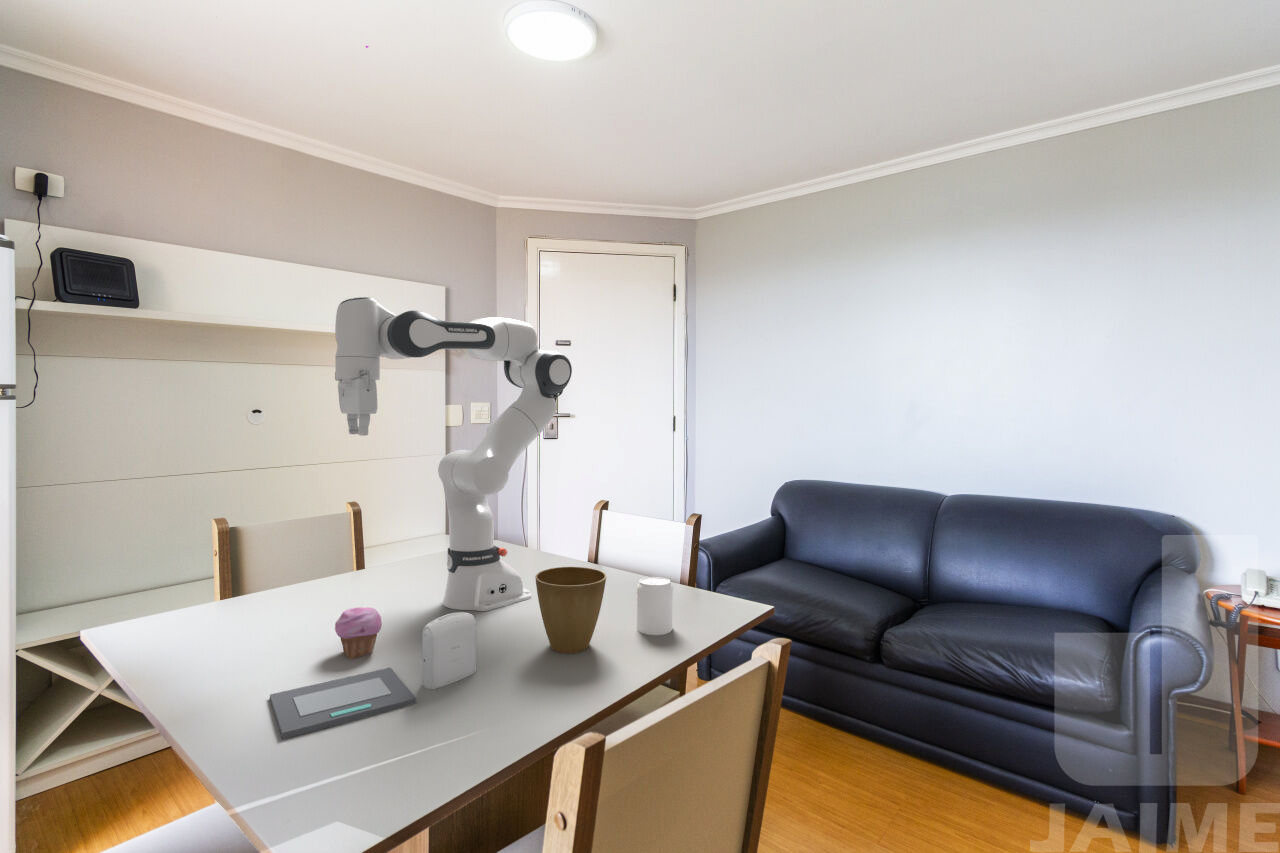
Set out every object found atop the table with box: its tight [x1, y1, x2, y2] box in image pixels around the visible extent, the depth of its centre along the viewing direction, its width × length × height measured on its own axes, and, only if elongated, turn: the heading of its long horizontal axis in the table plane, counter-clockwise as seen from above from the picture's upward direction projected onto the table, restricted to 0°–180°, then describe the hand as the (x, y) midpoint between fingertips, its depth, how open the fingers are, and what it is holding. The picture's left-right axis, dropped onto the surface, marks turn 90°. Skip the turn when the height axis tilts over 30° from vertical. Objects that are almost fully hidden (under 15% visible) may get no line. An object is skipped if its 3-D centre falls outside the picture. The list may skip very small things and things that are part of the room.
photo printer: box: [421, 611, 477, 690], centre depth 116 cm, size 10×4×12 cm, turn 140°
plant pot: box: [534, 566, 607, 655], centre depth 132 cm, size 15×15×16 cm
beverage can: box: [636, 576, 673, 636], centre depth 143 cm, size 8×8×12 cm
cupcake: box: [334, 606, 383, 660], centre depth 127 cm, size 9×9×10 cm
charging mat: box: [269, 667, 417, 740], centre depth 107 cm, size 20×16×1 cm
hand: (358, 434), depth 136 cm, fingers open, 8 cm apart
